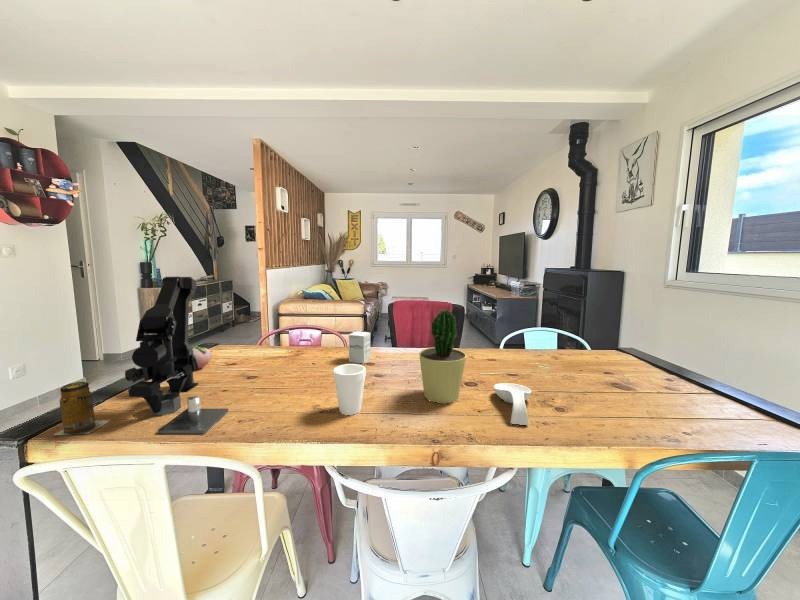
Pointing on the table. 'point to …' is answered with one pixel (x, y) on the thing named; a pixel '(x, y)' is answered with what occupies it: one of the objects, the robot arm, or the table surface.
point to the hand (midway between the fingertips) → (165, 406)
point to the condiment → (78, 410)
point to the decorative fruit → (202, 356)
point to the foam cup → (349, 387)
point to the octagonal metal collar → (168, 404)
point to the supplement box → (359, 347)
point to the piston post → (193, 419)
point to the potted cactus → (442, 361)
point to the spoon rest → (515, 400)
